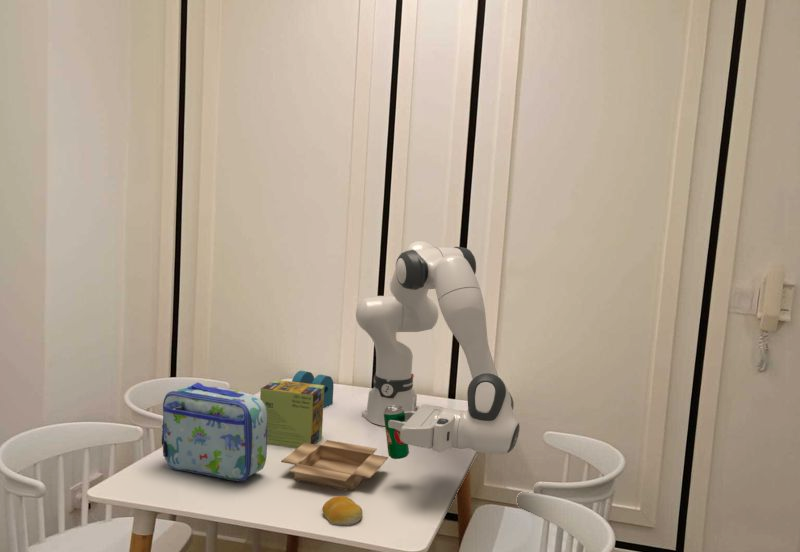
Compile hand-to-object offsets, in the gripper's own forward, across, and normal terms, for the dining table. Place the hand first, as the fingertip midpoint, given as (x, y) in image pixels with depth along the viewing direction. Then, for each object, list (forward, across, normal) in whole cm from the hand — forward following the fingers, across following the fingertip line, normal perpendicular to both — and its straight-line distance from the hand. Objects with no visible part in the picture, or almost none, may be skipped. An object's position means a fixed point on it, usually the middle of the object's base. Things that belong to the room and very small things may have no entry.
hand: (392, 419), depth 174 cm
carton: (+14, 0, +16) cm, 22 cm away
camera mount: (+43, -46, +17) cm, 65 cm away
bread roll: (+4, +21, +17) cm, 27 cm away
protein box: (+34, -17, +17) cm, 42 cm away
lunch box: (+42, +11, +17) cm, 47 cm away
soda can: (-2, 0, +9) cm, 9 cm away
